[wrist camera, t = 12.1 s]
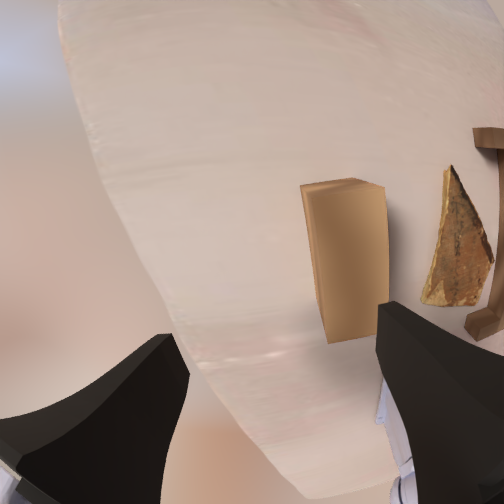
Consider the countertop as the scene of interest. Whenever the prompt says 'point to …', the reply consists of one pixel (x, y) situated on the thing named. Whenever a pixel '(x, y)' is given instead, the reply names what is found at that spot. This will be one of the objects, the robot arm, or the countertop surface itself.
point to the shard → (458, 250)
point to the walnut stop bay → (500, 302)
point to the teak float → (348, 254)
